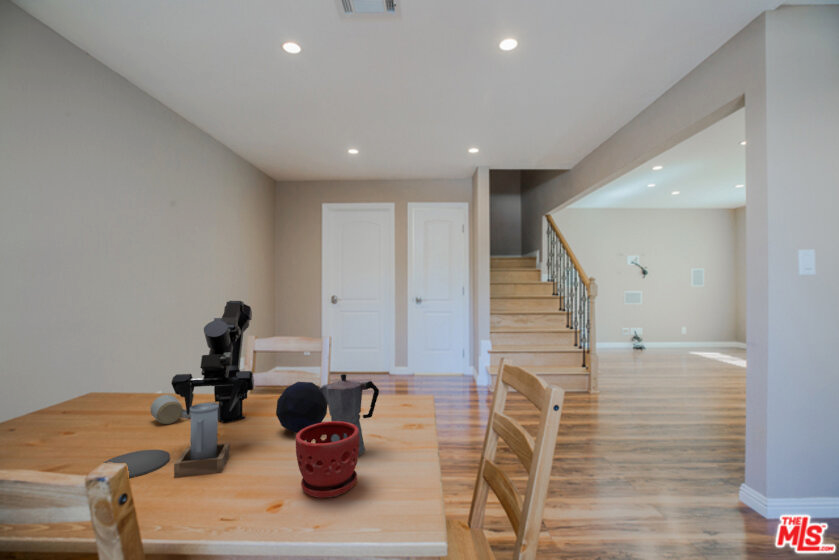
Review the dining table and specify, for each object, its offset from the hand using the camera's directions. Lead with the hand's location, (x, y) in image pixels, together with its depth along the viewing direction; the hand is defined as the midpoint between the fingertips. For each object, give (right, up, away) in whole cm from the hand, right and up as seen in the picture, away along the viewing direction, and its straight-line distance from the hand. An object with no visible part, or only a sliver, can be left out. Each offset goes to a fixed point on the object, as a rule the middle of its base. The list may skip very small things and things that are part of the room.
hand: (208, 412), depth 97 cm
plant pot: (+33, -11, -14) cm, 37 cm away
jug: (+1, -11, -4) cm, 12 cm away
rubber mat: (-15, -11, -4) cm, 19 cm away
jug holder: (+1, -11, -4) cm, 12 cm away
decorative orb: (+18, -12, +18) cm, 28 cm away
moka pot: (+34, -12, +4) cm, 36 cm away
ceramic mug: (-26, -12, +27) cm, 39 cm away
